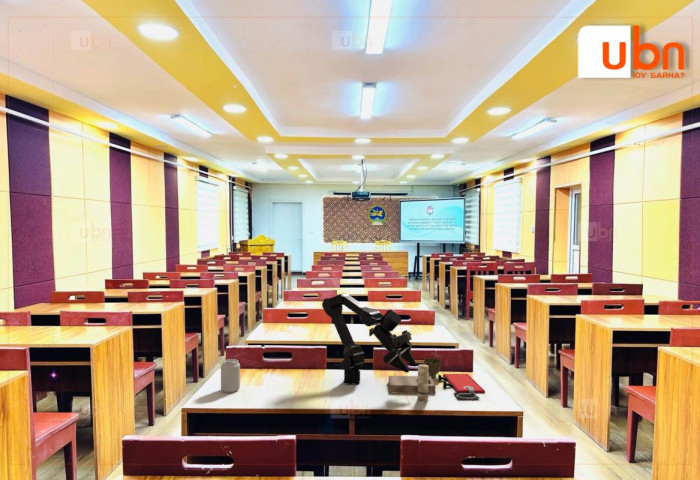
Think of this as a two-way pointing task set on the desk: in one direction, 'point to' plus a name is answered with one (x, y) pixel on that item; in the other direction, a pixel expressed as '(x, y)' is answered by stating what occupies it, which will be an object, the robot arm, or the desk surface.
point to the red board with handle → (462, 385)
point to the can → (230, 375)
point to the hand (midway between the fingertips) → (412, 368)
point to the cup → (432, 366)
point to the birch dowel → (423, 382)
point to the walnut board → (408, 384)
